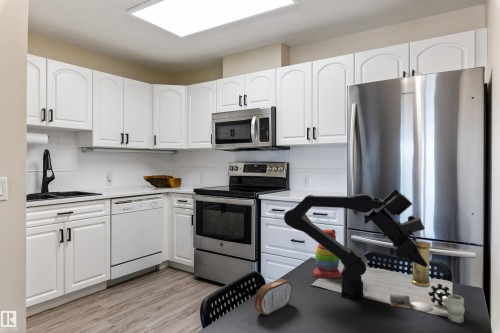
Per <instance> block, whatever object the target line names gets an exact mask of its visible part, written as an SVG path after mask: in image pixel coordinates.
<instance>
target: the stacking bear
mask: <svg viewBox="0 0 500 333" xmlns="http://www.w3.org/2000/svg"><path fill="white" fill-rule="evenodd" d="M322 230H323V231H324V232H325V233H327V234H328V235H329V236H331V237H332V238H334V239H335V240H336V241H337V236H336V230H335V229H322ZM314 256H315V258H314V259H315V263H316V268H315V269H314V270H313V272H312V275H313V277H314V278H320V279H321V278H329V279H334V280H340V279H342V275H341V272H342V271H340V269H339V264H340V260H339V258H338V257H336V256H335V255H334V254H332V253H331V252H330V251H328V250H327V249H326V248H324V247H323V246H322V245H320V244H319V243H318V245H317V246H316V249H315V255H314Z"/></svg>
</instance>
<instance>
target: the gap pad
mask: <svg viewBox="0 0 500 333" xmlns="http://www.w3.org/2000/svg"><path fill="white" fill-rule="evenodd" d="M409 305H410V308H412V309H413V310H416V311H420V312H431V311H432V310H433V307H432V306H431V305H430V304H428V303H426V302H421V301H412V302H409Z"/></svg>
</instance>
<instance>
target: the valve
mask: <svg viewBox="0 0 500 333" xmlns="http://www.w3.org/2000/svg"><path fill="white" fill-rule="evenodd" d="M430 289H431V290H432V291H429V292H428V294H427V295H429V296H430V297H432V298H431V299H430V301H431V302H432V303H433V304H435V303H436V302H437V304H438V305H439V306H443V305H444V307H446V310H447V311H448V312H447V319H448V320H449V321H451V322H455V323H458V324H460V323H463V322H464V320H465V316H464V315H465V312H466V311H465V310H466V309H465V306H464V305H465V299H464V297H462V296H461V295H457V294H452V293H450V292H448V291H450V288H449V287H448V286H444V287H443V285H442V284H441V283H437V287H436V286H434V285H430ZM440 290H442V291H443V292H442V291H440ZM436 297H437V298H436Z"/></svg>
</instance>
